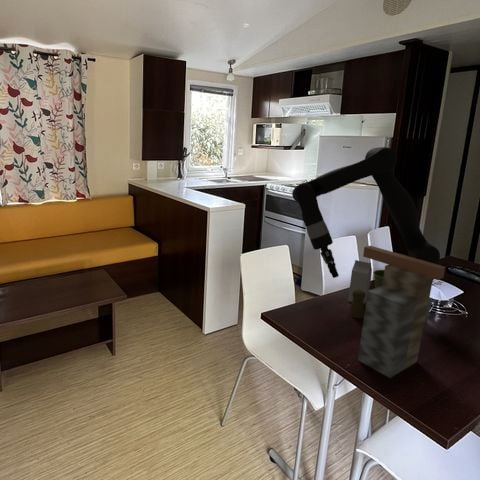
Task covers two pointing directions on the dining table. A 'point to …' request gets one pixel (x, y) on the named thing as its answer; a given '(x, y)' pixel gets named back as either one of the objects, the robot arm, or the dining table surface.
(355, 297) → the olive cylinder
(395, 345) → the stepped stand
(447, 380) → the dining table surface
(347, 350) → the dining table surface
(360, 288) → the milk carton
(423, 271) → the block
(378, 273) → the plant pot
